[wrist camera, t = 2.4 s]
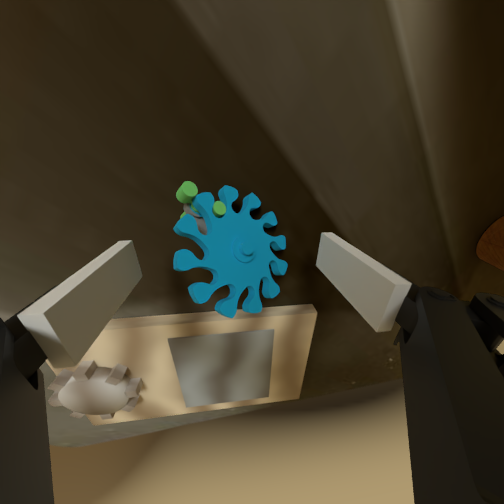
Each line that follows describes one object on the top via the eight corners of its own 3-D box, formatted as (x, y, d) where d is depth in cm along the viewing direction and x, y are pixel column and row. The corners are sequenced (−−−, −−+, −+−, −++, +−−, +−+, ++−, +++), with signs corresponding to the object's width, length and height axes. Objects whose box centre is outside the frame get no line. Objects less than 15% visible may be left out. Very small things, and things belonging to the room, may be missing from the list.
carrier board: (312, 303, 23) (323, 322, 20) (295, 388, 31) (302, 410, 28) (34, 324, 20) (3, 350, 17) (95, 413, 27) (81, 440, 25)
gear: (307, 256, 18) (247, 351, 12) (266, 263, 22) (209, 334, 17) (240, 149, 15) (119, 213, 9) (208, 182, 19) (115, 238, 14)
